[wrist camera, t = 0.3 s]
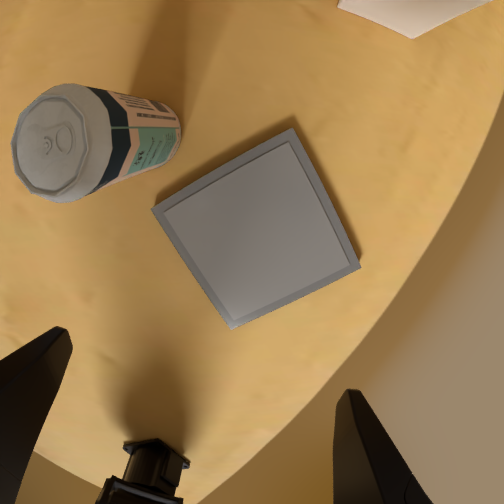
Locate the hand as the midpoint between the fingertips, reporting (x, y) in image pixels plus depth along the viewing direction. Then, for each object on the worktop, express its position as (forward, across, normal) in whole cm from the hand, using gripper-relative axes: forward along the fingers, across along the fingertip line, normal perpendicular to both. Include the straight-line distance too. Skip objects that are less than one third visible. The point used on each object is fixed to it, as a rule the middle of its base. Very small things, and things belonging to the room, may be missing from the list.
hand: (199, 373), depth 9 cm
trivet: (+14, -1, +3) cm, 15 cm away
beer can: (+16, +8, -3) cm, 17 cm away
